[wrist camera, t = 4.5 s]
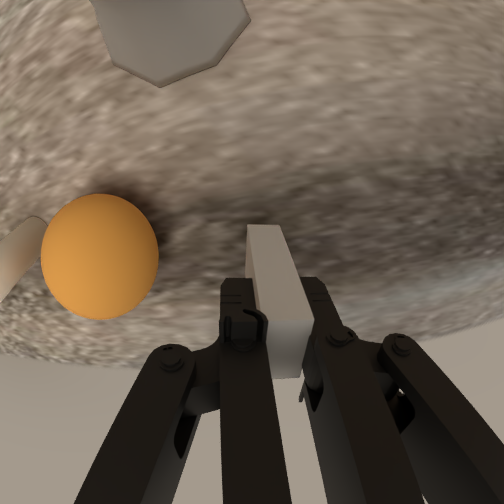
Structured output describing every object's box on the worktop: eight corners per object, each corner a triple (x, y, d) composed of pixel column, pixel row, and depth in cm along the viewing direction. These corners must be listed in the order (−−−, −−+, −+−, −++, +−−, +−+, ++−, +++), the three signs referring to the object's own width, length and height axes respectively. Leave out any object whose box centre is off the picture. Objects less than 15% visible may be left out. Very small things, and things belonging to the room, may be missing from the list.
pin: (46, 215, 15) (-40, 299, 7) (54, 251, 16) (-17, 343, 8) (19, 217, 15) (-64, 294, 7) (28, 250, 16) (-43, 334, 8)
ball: (5, 215, 10) (88, 175, 15) (39, 320, 12) (101, 266, 18) (94, 236, 8) (178, 184, 14) (125, 363, 11) (182, 288, 17)
